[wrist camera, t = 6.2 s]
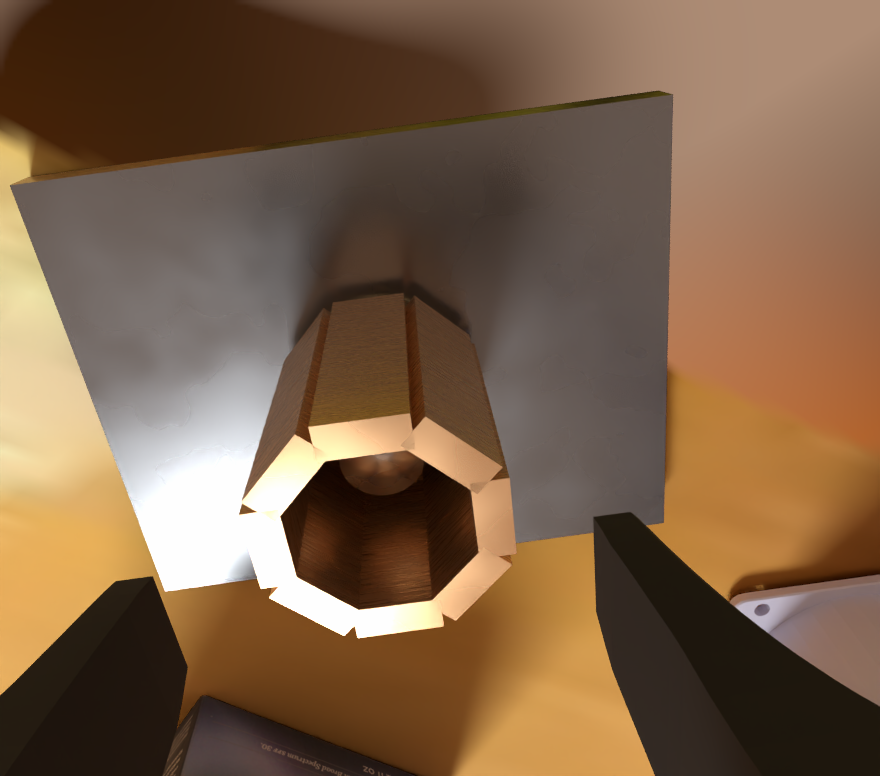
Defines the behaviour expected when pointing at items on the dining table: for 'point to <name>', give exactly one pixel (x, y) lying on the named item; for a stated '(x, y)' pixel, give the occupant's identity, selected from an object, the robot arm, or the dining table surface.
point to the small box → (257, 748)
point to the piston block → (370, 275)
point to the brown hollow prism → (368, 433)
